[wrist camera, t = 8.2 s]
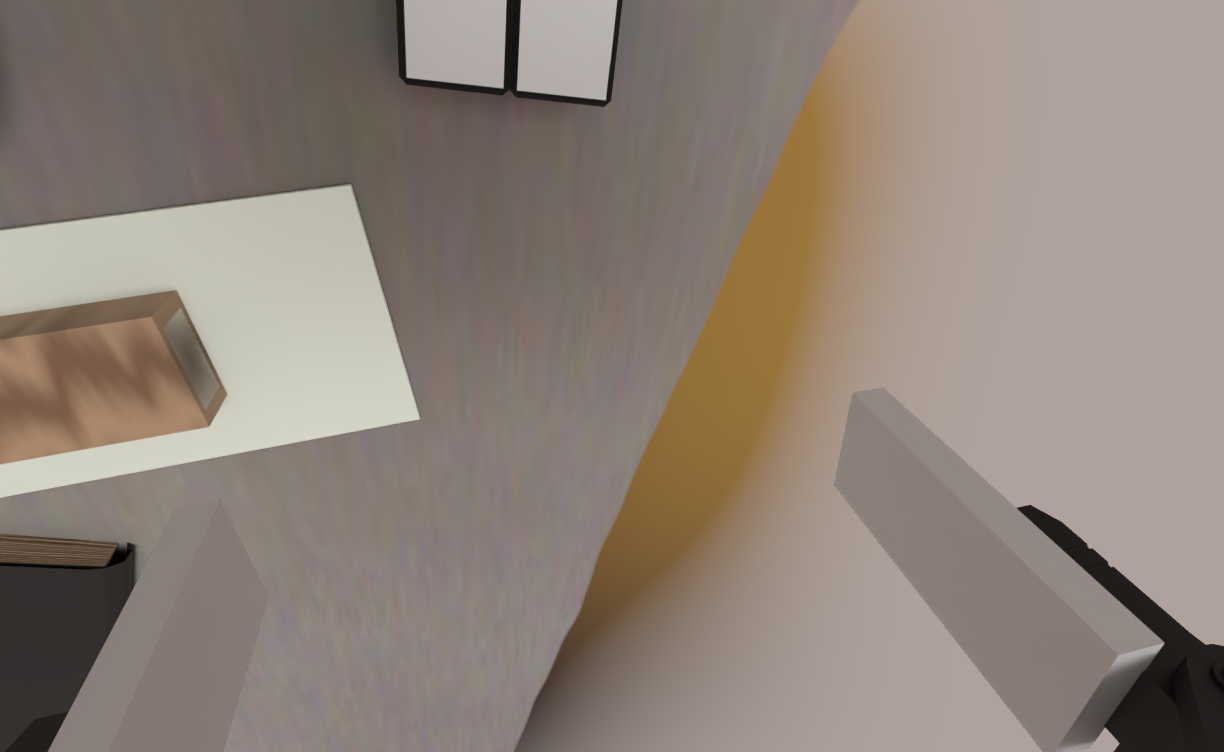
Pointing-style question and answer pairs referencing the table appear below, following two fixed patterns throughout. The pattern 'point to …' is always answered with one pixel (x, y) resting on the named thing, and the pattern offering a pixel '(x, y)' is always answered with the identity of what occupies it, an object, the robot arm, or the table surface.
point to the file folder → (53, 622)
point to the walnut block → (102, 376)
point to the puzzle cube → (511, 47)
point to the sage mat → (228, 319)
